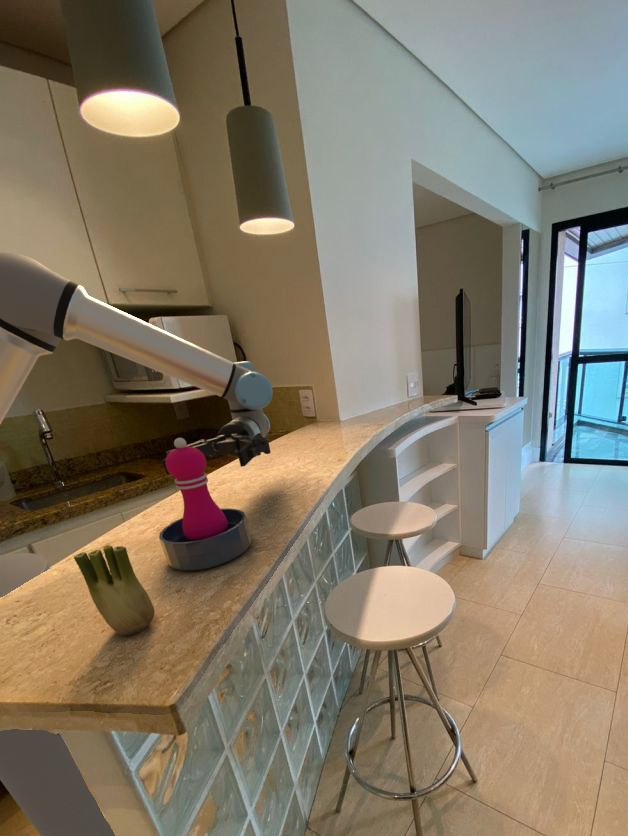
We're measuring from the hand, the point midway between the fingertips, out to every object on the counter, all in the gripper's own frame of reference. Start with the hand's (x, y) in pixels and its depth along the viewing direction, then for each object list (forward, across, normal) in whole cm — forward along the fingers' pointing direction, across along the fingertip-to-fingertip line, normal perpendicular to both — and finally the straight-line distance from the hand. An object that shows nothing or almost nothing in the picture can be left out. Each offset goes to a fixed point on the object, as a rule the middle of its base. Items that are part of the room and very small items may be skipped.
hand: (203, 463), depth 73 cm
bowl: (+7, 0, -14) cm, 16 cm away
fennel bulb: (+27, +3, -15) cm, 31 cm away
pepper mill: (+7, 0, -14) cm, 16 cm away
